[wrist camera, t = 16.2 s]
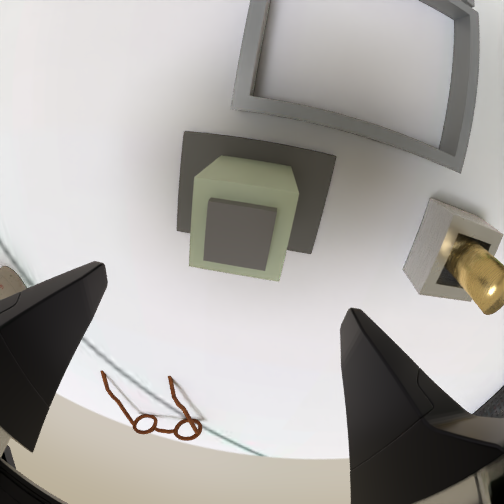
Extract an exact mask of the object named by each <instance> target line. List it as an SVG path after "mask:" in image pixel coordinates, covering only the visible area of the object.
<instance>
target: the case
mask: <svg viewBox="0 0 504 504" xmlns="http://www.w3.org/2000/svg"><path fill="white" fill-rule="evenodd" d="M419 1H421V2H423V3H425V4H427V5H429V6H431V7H433V8H435V9H436V10H438V11H440V12H442V13H443V14H445V15H447V16H448V17H450V18H452V19H453V20H454V53H453V67H452V77H451V86H450V93H449V100H448V106H447V112H446V118H445V123H444V128H443V133H442V138H441V142H440V147H439V149H437V148H435V147H432V146H430V145H428V144H425V143H423V142H421V141H418V140H416V139H413V138H411V137H408V136H406V135H403V134H400V133H398V132H395V131H392V130H390V129H387V128H384V127H381V126H378V125H375V124H372V123H369V122H366V121H362V120H359V119H356V118H353V117H349V116H346V115H342V114H338V113H334V112H331V111H327V110H323V109H318V108H314V107H310V106H305V105H301V104H296V103H291V102H285V101H280V100H274V99H268V98H262V97H255V96H253V92H254V86H255V81H256V75H257V69H258V63H259V58H260V52H261V47H262V41H263V36H264V31H265V25H266V20H267V15H268V10H269V5H270V0H250V5H249V10H248V15H247V19H246V24H245V29H244V35H243V40H242V45H241V50H240V56H239V61H238V67H237V73H236V79H235V85H234V91H233V97H232V103H231V109H235V110H243V111H250V112H257V113H263V114H269V115H275V116H281V117H286V118H291V119H296V120H301V121H306V122H310V123H315V124H319V125H323V126H327V127H331V128H335V129H339V130H343V131H346V132H350V133H353V134H357V135H360V136H364V137H367V138H370V139H373V140H376V141H380V142H383V143H386V144H389V145H391V146H394V147H397V148H400V149H403V150H405V151H408V152H411V153H413V154H416V155H418V156H421V157H423V158H426V159H428V160H431V161H433V162H436V163H438V164H440V165H442V166H445V167H447V168H449V169H452V170H454V171H456V172H458V173H460V174H461V171H462V167H463V163H464V159H465V155H466V151H467V147H468V142H469V137H470V132H471V127H472V121H473V115H474V109H475V102H476V94H477V84H478V72H479V16H478V12H477V11H475V10H474V9H472V7H474V0H419Z"/></svg>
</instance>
